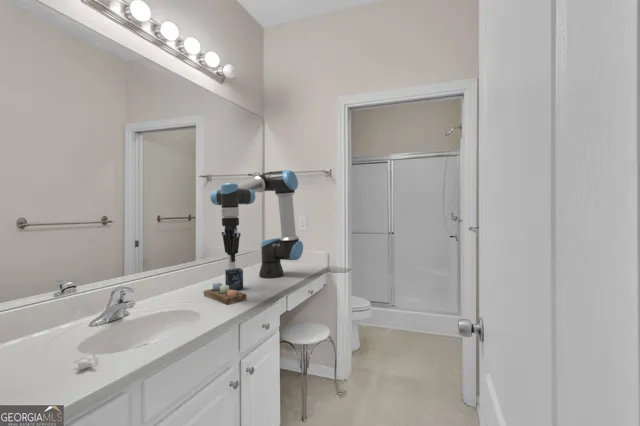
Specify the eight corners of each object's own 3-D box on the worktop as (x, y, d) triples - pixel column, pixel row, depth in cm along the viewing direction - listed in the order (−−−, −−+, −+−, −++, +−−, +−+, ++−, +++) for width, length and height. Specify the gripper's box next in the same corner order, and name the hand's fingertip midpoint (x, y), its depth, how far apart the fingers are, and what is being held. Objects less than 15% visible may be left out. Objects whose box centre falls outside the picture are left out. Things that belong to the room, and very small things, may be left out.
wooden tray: (222, 291, 160) (222, 286, 160) (246, 299, 144) (246, 294, 144) (204, 295, 153) (203, 290, 153) (226, 304, 137) (226, 298, 137)
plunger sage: (226, 292, 152) (226, 284, 152) (230, 294, 149) (230, 285, 149) (218, 294, 149) (218, 286, 149) (222, 296, 146) (222, 287, 146)
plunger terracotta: (234, 298, 147) (233, 289, 147) (238, 299, 144) (238, 290, 144) (225, 300, 144) (225, 291, 144) (230, 301, 141) (230, 292, 141)
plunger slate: (219, 290, 157) (219, 282, 157) (223, 291, 154) (223, 283, 154) (211, 292, 154) (211, 284, 154) (215, 293, 151) (215, 285, 151)
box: (228, 291, 160) (228, 271, 160) (225, 289, 164) (224, 269, 164) (243, 289, 164) (243, 269, 164) (240, 287, 169) (239, 267, 169)
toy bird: (64, 369, 81) (70, 349, 83) (81, 367, 85) (86, 348, 87) (90, 372, 79) (95, 351, 81) (105, 369, 84) (110, 350, 85)
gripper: (215, 217, 145) (217, 268, 146) (230, 217, 136) (231, 271, 137) (230, 216, 151) (232, 265, 151) (245, 217, 142) (246, 269, 142)
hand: (231, 268), depth 144 cm, fingers closed
